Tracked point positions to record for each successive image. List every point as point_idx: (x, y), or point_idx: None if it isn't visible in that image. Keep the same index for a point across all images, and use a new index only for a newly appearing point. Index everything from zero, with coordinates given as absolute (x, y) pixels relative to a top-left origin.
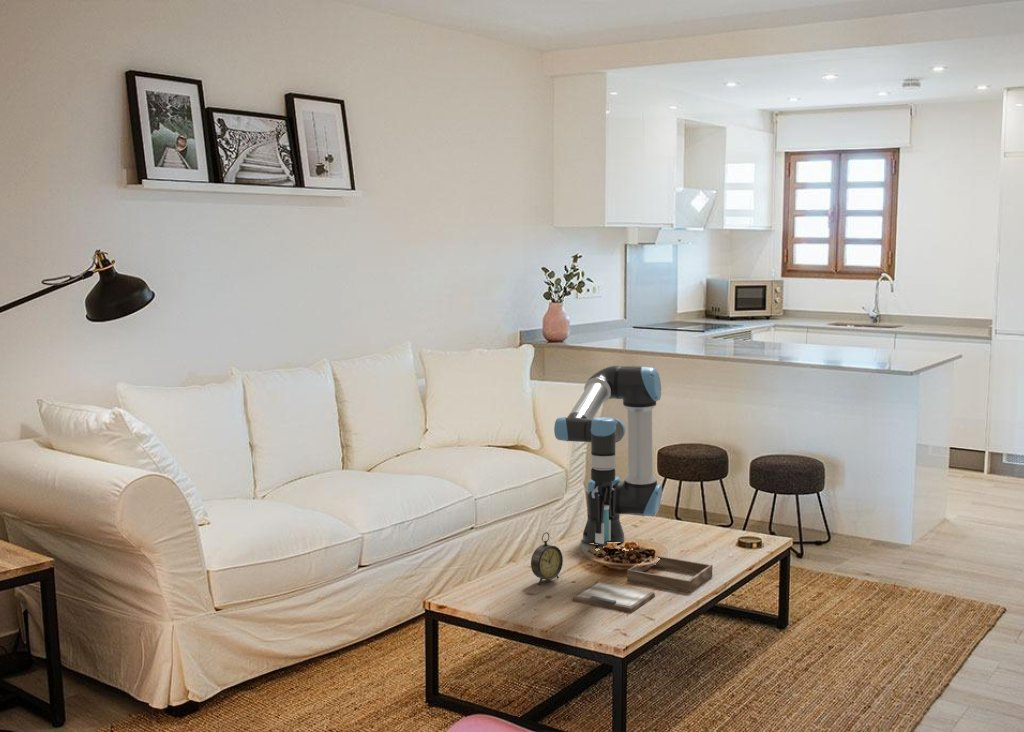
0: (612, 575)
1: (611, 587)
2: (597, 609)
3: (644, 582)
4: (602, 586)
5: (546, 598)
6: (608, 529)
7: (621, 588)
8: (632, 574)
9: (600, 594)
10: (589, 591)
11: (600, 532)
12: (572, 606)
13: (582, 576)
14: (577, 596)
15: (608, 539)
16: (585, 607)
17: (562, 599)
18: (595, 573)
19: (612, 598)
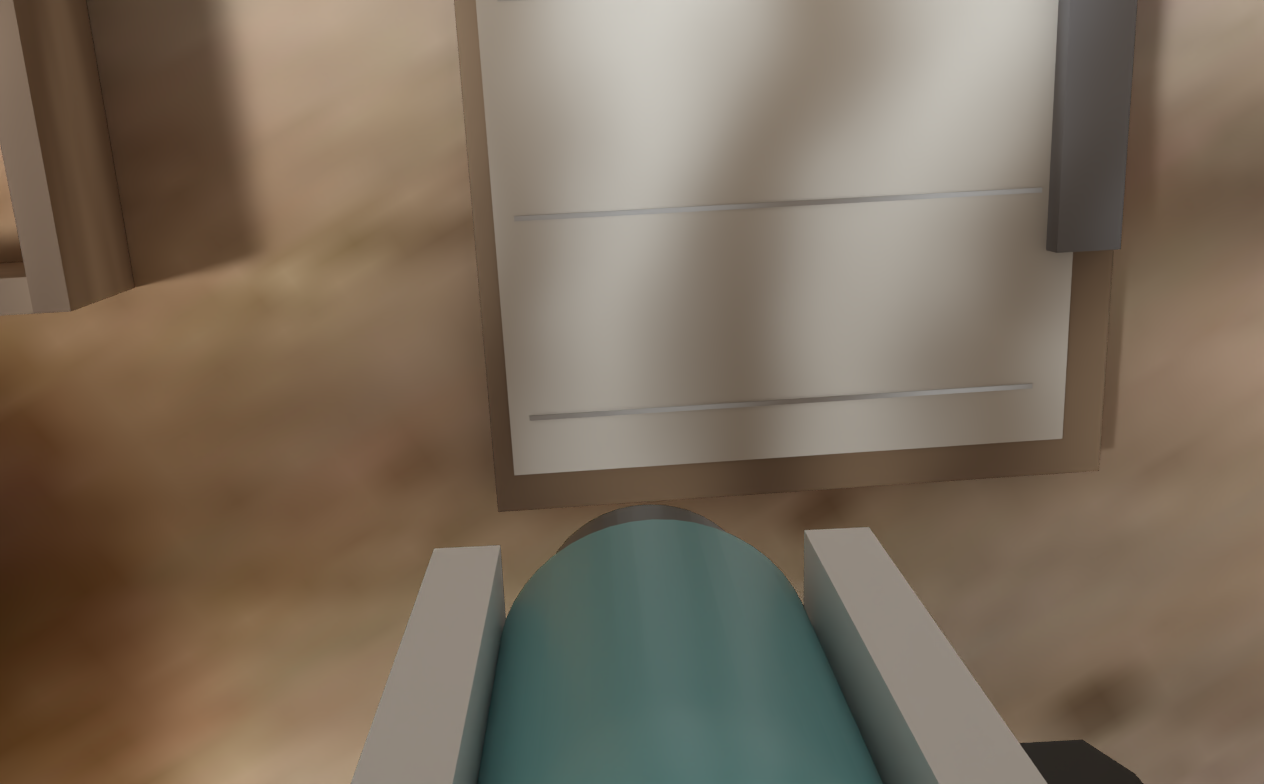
0: (91, 530)
1: (597, 251)
2: (1208, 70)
3: (82, 27)
4: (629, 362)
5: (1147, 695)
6: (625, 700)
7: (556, 122)
8: (76, 219)
9: (892, 233)
10: (872, 395)
11: (1034, 763)
12: (1242, 357)
13: (349, 773)
14: (1071, 426)
15: (609, 538)
16: (1209, 221)
17: (1099, 555)
18: (166, 718)
19: (946, 28)
